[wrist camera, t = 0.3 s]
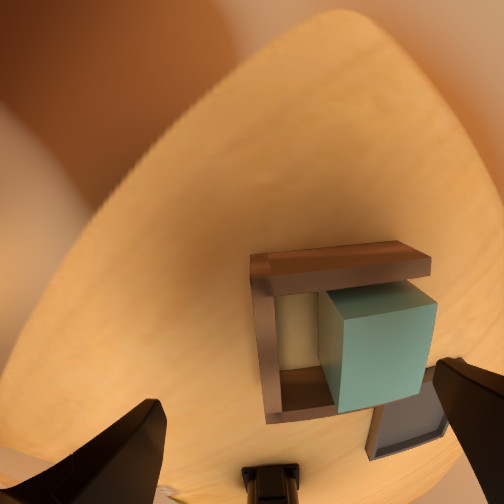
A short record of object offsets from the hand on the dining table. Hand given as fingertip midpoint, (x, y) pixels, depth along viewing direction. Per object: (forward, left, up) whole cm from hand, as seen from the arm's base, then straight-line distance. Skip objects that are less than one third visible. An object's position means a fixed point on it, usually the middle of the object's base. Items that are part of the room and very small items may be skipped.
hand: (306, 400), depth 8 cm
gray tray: (-18, -14, -14) cm, 26 cm away
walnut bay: (-5, -4, -14) cm, 15 cm away
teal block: (-5, -6, -14) cm, 16 cm away
